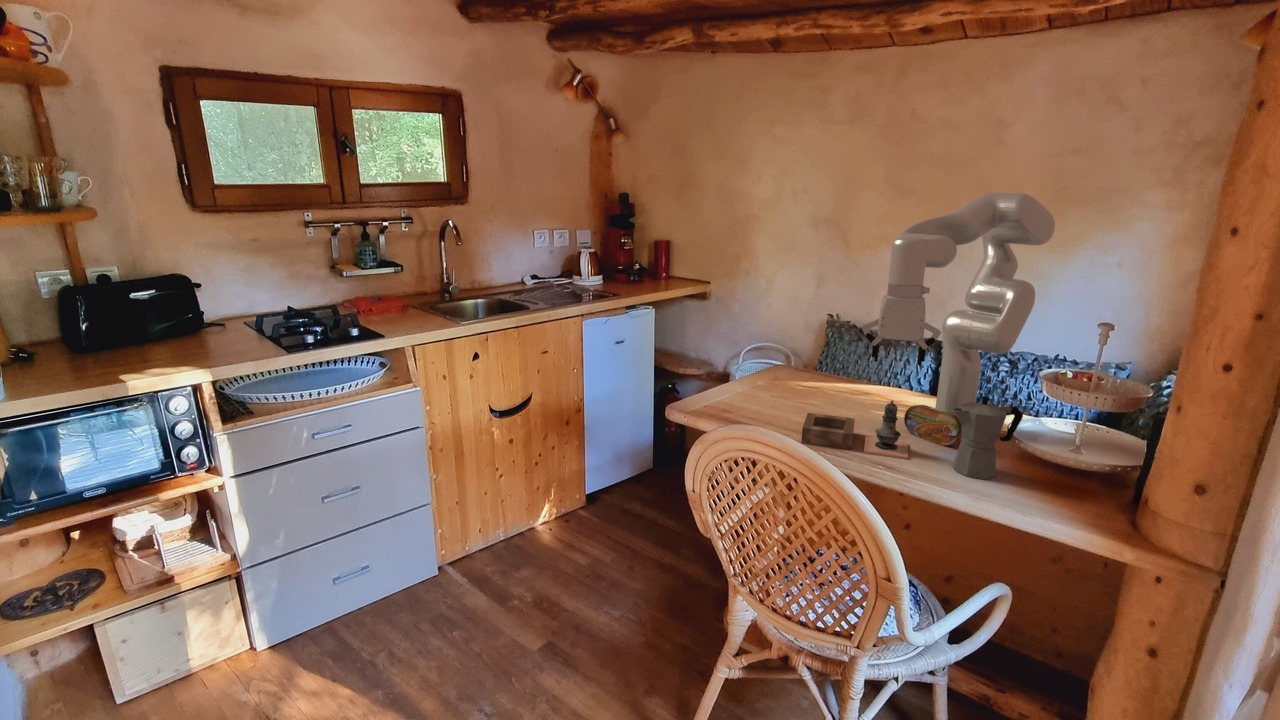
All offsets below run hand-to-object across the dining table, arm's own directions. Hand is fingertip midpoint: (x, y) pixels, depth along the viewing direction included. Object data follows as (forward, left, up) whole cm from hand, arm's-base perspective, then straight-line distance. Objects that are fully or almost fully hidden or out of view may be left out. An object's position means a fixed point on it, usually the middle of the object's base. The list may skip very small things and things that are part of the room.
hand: (897, 362), depth 154 cm
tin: (-11, -11, -22) cm, 27 cm away
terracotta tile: (0, 0, -22) cm, 22 cm away
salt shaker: (0, 0, -22) cm, 22 cm away
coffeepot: (-20, +6, -22) cm, 30 cm away
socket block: (+14, -2, -22) cm, 26 cm away
